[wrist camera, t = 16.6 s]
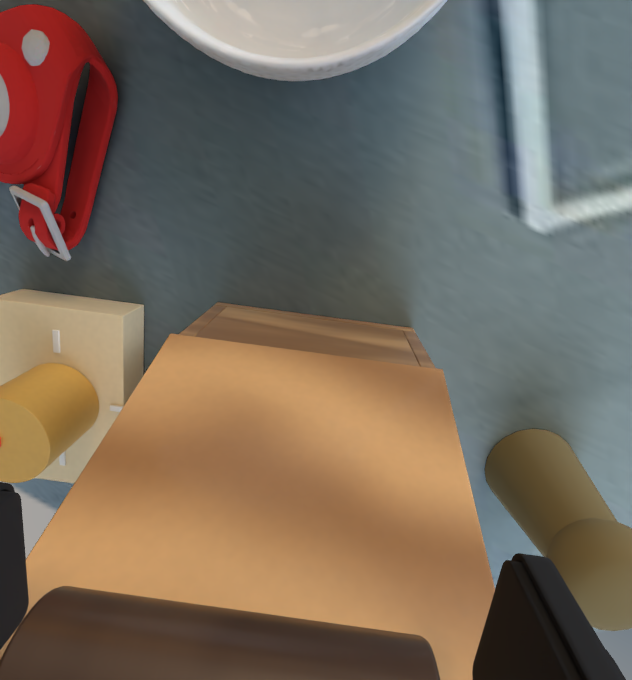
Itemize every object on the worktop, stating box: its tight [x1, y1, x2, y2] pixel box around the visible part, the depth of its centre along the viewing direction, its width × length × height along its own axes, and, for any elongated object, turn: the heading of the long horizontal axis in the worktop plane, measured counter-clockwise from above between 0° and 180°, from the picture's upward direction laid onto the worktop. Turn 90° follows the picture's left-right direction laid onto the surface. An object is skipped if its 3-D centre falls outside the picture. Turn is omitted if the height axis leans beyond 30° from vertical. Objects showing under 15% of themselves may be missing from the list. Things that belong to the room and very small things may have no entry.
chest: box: [179, 302, 436, 369], centre depth 27 cm, size 16×13×8 cm
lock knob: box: [0, 363, 99, 483], centre depth 26 cm, size 5×5×5 cm
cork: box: [485, 429, 632, 631], centre depth 26 cm, size 6×6×11 cm
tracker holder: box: [0, 4, 118, 261], centre depth 25 cm, size 12×4×10 cm
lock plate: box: [0, 289, 144, 483], centre depth 29 cm, size 12×9×3 cm
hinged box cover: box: [0, 334, 495, 680], centre depth 13 cm, size 16×13×6 cm
